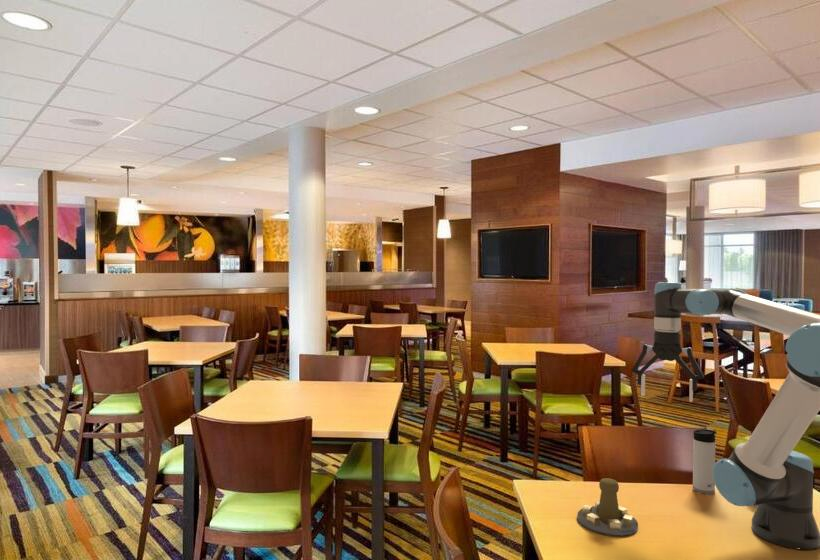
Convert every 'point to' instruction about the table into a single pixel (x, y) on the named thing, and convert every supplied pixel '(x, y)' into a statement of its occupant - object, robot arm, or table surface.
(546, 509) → the table surface
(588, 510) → the ring holder
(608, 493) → the cork
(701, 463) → the travel mug
